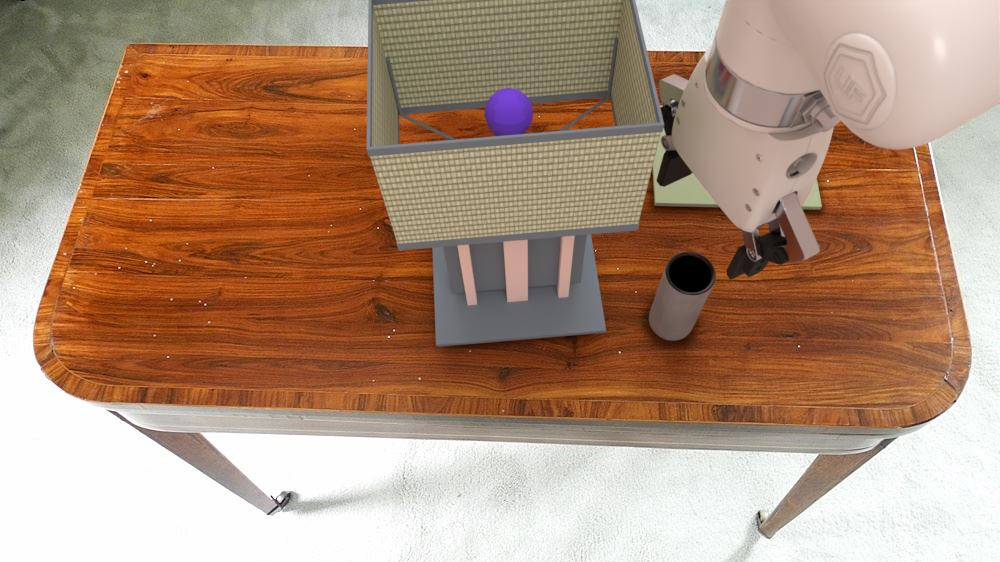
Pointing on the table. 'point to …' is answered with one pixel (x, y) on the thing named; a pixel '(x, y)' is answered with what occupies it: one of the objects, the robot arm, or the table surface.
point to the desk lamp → (511, 154)
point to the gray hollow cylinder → (681, 295)
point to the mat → (701, 189)
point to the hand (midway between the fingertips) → (707, 222)
